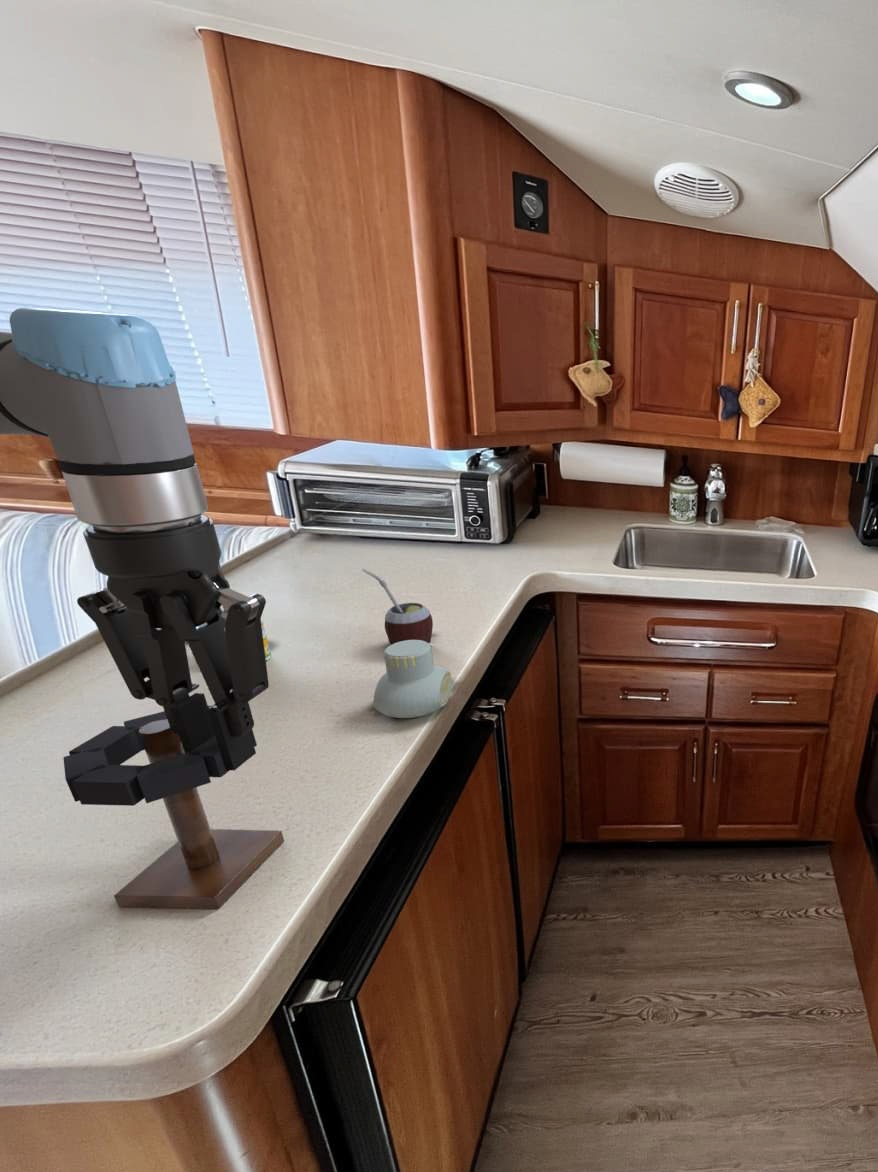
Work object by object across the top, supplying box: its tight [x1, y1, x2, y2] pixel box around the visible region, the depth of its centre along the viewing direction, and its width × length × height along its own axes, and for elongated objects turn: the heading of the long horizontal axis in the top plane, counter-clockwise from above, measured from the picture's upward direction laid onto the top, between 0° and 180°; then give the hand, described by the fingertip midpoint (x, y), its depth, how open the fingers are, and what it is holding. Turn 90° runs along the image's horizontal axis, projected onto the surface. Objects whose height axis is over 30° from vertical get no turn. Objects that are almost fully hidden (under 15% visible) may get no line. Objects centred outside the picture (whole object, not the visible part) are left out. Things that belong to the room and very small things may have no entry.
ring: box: [62, 705, 258, 807], centre depth 59 cm, size 12×12×2 cm
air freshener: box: [373, 640, 452, 719], centre depth 93 cm, size 11×8×10 cm
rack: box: [113, 720, 285, 910], centre depth 61 cm, size 9×9×18 cm
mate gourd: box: [361, 568, 434, 645], centre depth 108 cm, size 8×8×15 cm
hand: (223, 760), depth 60 cm, fingers closed on ring, 2 cm apart
